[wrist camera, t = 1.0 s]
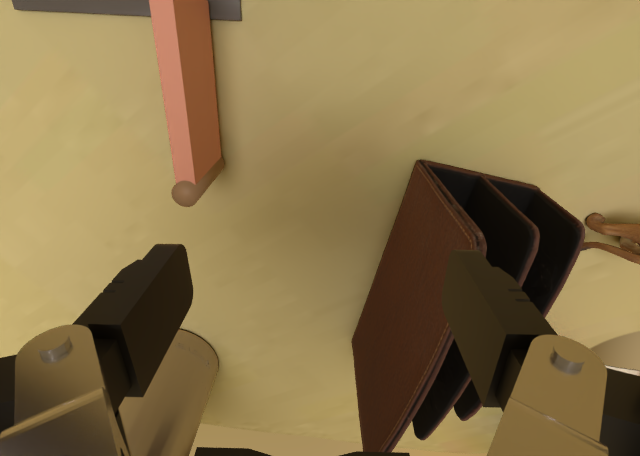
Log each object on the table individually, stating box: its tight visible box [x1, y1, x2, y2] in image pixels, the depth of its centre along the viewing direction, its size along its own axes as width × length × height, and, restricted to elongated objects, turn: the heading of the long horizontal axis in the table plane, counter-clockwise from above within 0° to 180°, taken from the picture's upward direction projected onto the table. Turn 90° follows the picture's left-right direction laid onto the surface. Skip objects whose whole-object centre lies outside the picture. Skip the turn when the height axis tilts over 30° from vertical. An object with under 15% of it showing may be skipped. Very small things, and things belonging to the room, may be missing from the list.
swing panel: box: [149, 0, 224, 207], centre depth 23 cm, size 12×2×6 cm, turn 177°
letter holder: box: [352, 160, 585, 452], centre depth 27 cm, size 10×20×14 cm, turn 167°
